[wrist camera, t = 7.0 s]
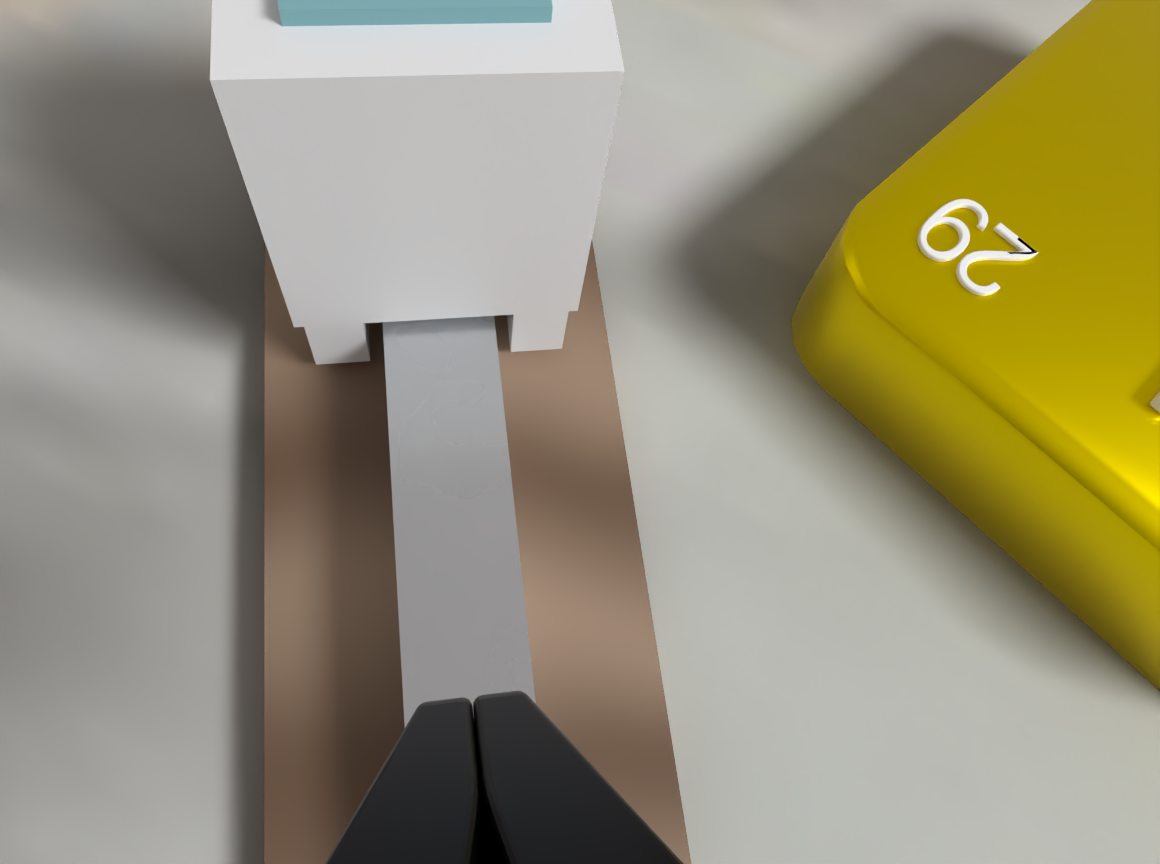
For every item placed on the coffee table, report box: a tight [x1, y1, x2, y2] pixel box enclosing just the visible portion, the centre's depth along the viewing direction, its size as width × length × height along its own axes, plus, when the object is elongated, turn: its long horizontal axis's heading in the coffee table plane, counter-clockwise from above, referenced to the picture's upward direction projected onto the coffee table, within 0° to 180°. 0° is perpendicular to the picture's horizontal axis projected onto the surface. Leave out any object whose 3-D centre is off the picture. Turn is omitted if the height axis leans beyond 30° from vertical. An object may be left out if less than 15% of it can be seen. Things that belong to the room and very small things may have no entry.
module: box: [210, 0, 625, 365], centre depth 19 cm, size 5×6×9 cm
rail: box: [383, 316, 536, 727], centre depth 19 cm, size 20×7×5 cm, turn 7°
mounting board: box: [264, 240, 691, 864], centre depth 21 cm, size 22×8×1 cm, turn 7°
